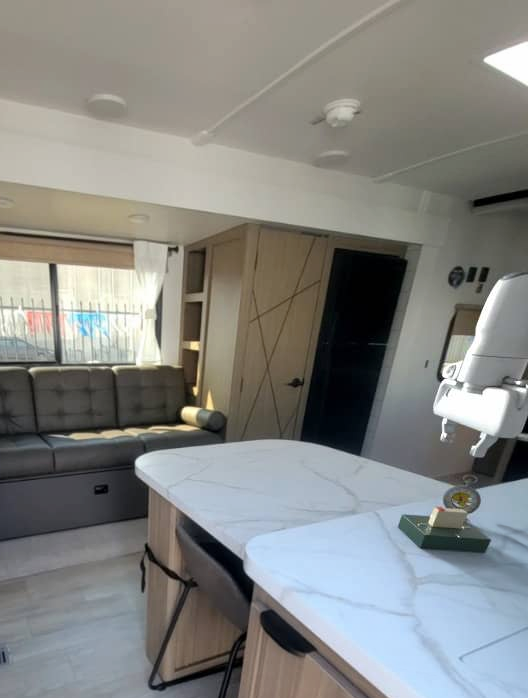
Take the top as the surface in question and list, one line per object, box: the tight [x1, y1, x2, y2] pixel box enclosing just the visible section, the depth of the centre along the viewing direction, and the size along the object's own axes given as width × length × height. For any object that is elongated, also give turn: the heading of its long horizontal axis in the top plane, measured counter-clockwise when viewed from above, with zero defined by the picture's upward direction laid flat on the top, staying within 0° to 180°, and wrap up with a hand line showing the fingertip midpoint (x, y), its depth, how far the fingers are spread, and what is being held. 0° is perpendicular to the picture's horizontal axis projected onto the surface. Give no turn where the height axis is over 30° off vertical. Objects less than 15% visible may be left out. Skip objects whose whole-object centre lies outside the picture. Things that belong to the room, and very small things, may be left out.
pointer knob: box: [428, 506, 469, 529], centre depth 79 cm, size 6×2×4 cm, turn 85°
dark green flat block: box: [397, 513, 492, 554], centre depth 81 cm, size 12×10×3 cm
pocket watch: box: [442, 474, 482, 525], centre depth 88 cm, size 8×8×10 cm
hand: (460, 448), depth 78 cm, fingers open, 8 cm apart
